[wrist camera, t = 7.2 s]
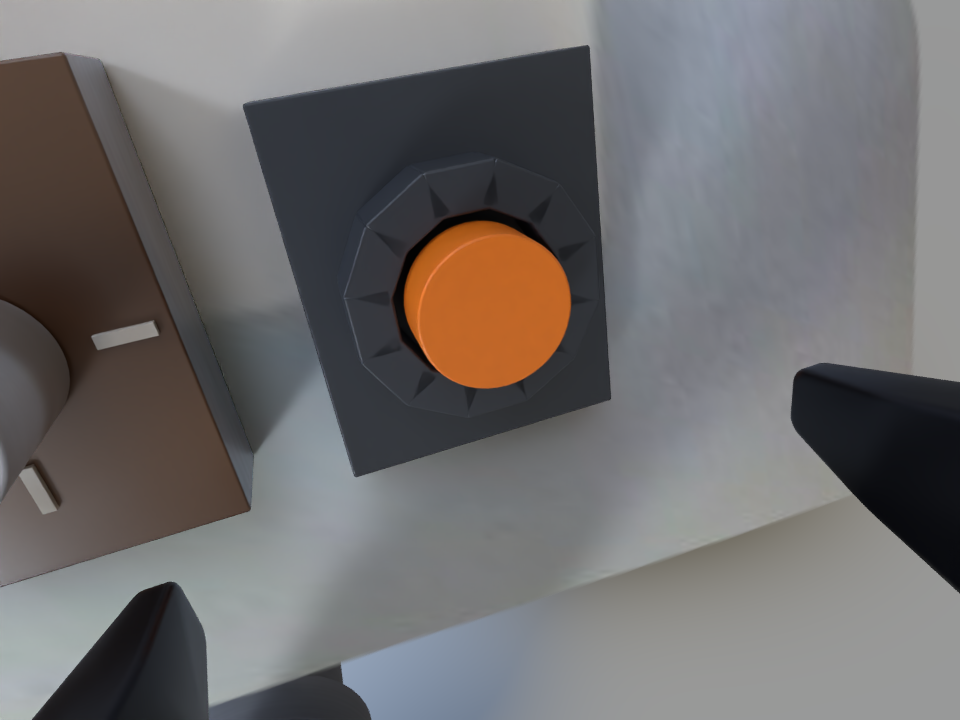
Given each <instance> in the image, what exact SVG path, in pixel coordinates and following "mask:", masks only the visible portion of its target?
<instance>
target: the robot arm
mask: <svg viewBox="0 0 960 720" xmlns="http://www.w3.org/2000/svg"><path fill="white" fill-rule="evenodd" d="M791 421H792V424H793V426H794V428H795V430H796V431H797V433H798V434H799V435H800V436H801V437H802V438H803V439H804V441H805V442H806V443H807V444H808V445H809V446H810V447H811V448H812V449H813V450H814V451H815V453H816V454H817V455H818V456H819V457H820V458H821V459H822V460H823V461H824V462H825V464H826V465H827V466H828V467H829V468H830V469H831V470H832V471H833V472H834V473H835V474H836V476H837V477H838V478H839V479H840V480H841V481H842V482H843V483H844V484H845V485H846V487H847V488H848V489H849V490H850V491H851V492H852V493H853V494H854V495H855V496H856V497H857V498H858V499H859V500H860V502H861V503H863V505H865V507H867V509H868V510H869V511H871V512H872V513H873V514H874V515H875V516H876V517H877V518H878V519H879V520H880V521H881V522H882V523H883V524H884V525H886V527H888V528H889V529H890V530H891V531H892V532H893V533H894V534H895V535H896V536H898V537H899V538H900V539H901V540H902V541H903V542H904V543H905V544H906V545H907V546H908V547H909V548H911V549H912V550H913V551H914V552H915V553H916V554H917V555H918V556H920V558H922V559H923V560H924V561H925V562H926V563H927V564H928V565H929V566H930V567H931V568H932V569H934V570H935V571H936V572H937V573H938V574H939V575H940V576H941V577H942V578H943V579H945V580H946V581H947V582H948V583H949V584H950V585H951V586H952V587H953V588H954V589H955V590H957V591H958V592H959V593H960V382H954V381H948V380H941V379H934V378H927V377H920V376H913V375H907V374H900V373H893V372H886V371H879V370H872V369H865V368H858V367H851V366H844V365H837V364H830V363H819V364H816V365H813V366H810V367H807V368H804V369H801V370H800V371H798V372H797V373H796V375H795V377H794V381H793V393H792V406H791ZM32 720H209V710H208V681H207V652H206V639H205V634H204V630H203V627H202V625H201V623H200V621H199V619H198V617H197V616H196V614H195V612H194V610H193V608H192V607H191V605H190V603H189V601H188V599H187V597H186V596H185V594H184V592H183V590H182V589H181V587H180V586H179V585H178V584H177V583H175V582H167V583H164V584H161V585H158V586H155V587H152V588H149V589H146V590H143V591H141V592H139V593H138V594H137V595H136V596H135V597H134V598H133V599H132V600H131V601H130V602H129V604H128V605H127V606H126V607H125V608H124V610H123V611H122V612H121V613H120V614H119V616H118V617H117V618H116V619H115V620H114V622H113V623H112V624H111V625H110V626H109V628H108V629H107V630H106V631H105V632H104V634H103V635H102V636H101V637H100V638H99V640H98V641H97V642H96V643H95V644H94V646H93V647H92V648H91V649H90V650H89V652H88V653H87V654H86V655H85V656H84V658H83V659H82V660H81V661H80V662H79V664H78V665H77V666H76V667H75V668H74V670H73V671H72V672H71V673H70V674H69V676H68V677H67V678H66V679H65V681H64V682H63V683H62V684H61V685H60V687H59V688H58V689H57V690H56V691H55V693H54V694H53V695H52V696H51V697H50V699H49V700H48V701H47V702H46V703H45V705H44V706H43V707H42V708H41V709H40V711H39V712H38V713H37V714H36V715H35V716H34V718H33V719H32Z"/></svg>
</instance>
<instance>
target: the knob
mask: <svg viewBox="0 0 960 720" xmlns="http://www.w3.org/2000/svg"><path fill="white" fill-rule="evenodd" d="M69 387H70V375H69V369H68V365H67V361H66V358H65V356H64V354H63V351H62V350H61V348H60V346H59V345H58V343H57V341H56V340H55V339H54V337H53V336H52V335H51V334H50V332H49V331H48V330H47V329H46V328H45V327H44V326H43V325H42V324H41V323H40V322H38V321H37V320H36V319H34V318H33V317H32V316H31V315H29V314H28V313H26V312H24V311H23V310H21V309H20V308H18V307H16V306H14V305H12V304H10V303H8V302H6V301H3V300H0V503H1V502H2V500H3V499H4V497H5V496H6V494H7V492H8V491H9V489H10V488H11V486H12V485H13V483H14V482H15V480H16V479H17V477H18V476H19V474H20V473H21V471H22V470H23V468H24V467H25V465H26V464H27V462H28V461H29V459H30V458H31V456H32V455H33V453H34V452H35V450H36V449H37V447H38V446H39V444H40V443H41V441H42V440H43V438H44V436H45V435H46V433H47V432H48V430H49V429H50V427H51V426H52V424H53V423H54V421H55V420H56V418H57V417H58V415H59V414H60V412H61V411H62V409H63V407H64V405H65V403H66V401H67V397H68V393H69Z"/></svg>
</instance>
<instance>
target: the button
mask: <svg viewBox="0 0 960 720" xmlns="http://www.w3.org/2000/svg"><path fill="white" fill-rule="evenodd" d="M404 309H405V315H406V318H407V322H408V324H409V326H410V329H411V331H412V333H413V334H414V336H415V338H416V340H417V341H418V343H419V345H420V347H421V348H422V350H423V352H424V354H425V355H426V357H427V358H428V360H429V361H430V363H431V364H432V365H433V366H434V367H435V368H436V370H438V371H439V372H440V373H441V374H442V375H444V376H445V377H447V378H448V379H450V380H452V381H454V382H456V383H458V384H461V385H464V386H468V387H474V388H487V389H489V388H498V387H503V386H507V385H510V384H513V383H516V382H518V381H520V380H522V379H524V378H526V377H528V376H529V375H531V374H532V373H534V372H535V371H536V370H538V369H539V368H540V367H542V366H543V365H544V364H545V363H546V362H547V361H548V360H549V358H550V357H551V356H552V355H553V353H554V352H555V351H556V349H557V348H558V346H559V344H560V343H561V341H562V339H563V337H564V335H565V332H566V329H567V326H568V322H569V318H570V312H571V294H570V287H569V283H568V280H567V276H566V274H565V272H564V270H563V268H562V266H561V265H560V263H559V261H558V260H557V259H556V258H555V256H554V255H553V254H552V253H551V252H550V251H549V250H548V249H546V248H545V247H544V246H542V245H541V244H539V243H538V242H536V241H534V240H533V239H531V238H529V237H527V236H526V235H524V234H522V233H520V232H519V231H517V230H515V229H514V228H512V227H509V226H507V225H505V224H501V223H498V222H493V221H471V222H465V223H462V224H458V225H455V226H453V227H451V228H449V229H446V230H445V231H443V232H441V233H440V234H438V235H437V236H436V237H434V238H433V239H432V240H431V241H429V243H428V244H427V245H426V246H425V247H424V248H423V249H422V250H421V251H420V253H419V254H418V256H417V257H416V259H415V260H414V262H413V264H412V266H411V268H410V270H409V273H408V275H407V279H406V283H405V289H404Z"/></svg>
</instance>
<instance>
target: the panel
mask: <svg viewBox="0 0 960 720" xmlns="http://www.w3.org/2000/svg"><path fill="white" fill-rule="evenodd" d="M0 300H3V301H6V302H8V303H10V304H12V305H14V306H16V307H18V308H20V309H21V310H23V311H24V312H26V313H28V314H29V315H31V316H32V317H33V318H34V319H36V320H37V321H38V322H40V323H41V324H42V325H43V326H44V327H45V328H46V329H47V330H48V331H49V332H50V334H51V335H52V336H53V337H54V339H55V340H56V341H57V343H58V345H59V346H60V348H61V350H62V351H63V354H64V356H65V358H66V361H67V365H68V369H69V375H70V387H69V393H68V397H67V401H66V403H65V405H64V407H63V409H62V411H61V412H60V414H59V415H58V417H57V418H56V420H55V421H54V423H53V424H52V426H51V427H50V429H49V430H48V432H47V433H46V435H45V436H44V438H43V440H42V441H41V443H40V444H39V446H38V447H37V449H36V450H35V452H34V453H33V455H32V456H31V458H30V459H29V461H28V462H27V464H26V465H25V467H24V468H23V470H22V471H21V473H20V474H19V476H18V477H17V479H16V480H15V482H14V483H13V485H12V486H11V488H10V489H9V491H8V492H7V494H6V496H5V497H4V499H3V500H2V502H1V503H0V587H3V586H6V585H9V584H12V583H16V582H19V581H22V580H26V579H29V578H32V577H35V576H39V575H42V574H45V573H48V572H52V571H55V570H58V569H62V568H65V567H68V566H71V565H75V564H78V563H81V562H84V561H88V560H91V559H94V558H97V557H101V556H104V555H107V554H111V553H114V552H117V551H120V550H124V549H127V548H130V547H133V546H137V545H140V544H143V543H147V542H150V541H153V540H156V539H160V538H163V537H166V536H169V535H173V534H176V533H179V532H182V531H186V530H189V529H192V528H196V527H199V526H202V525H205V524H209V523H212V522H215V521H218V520H222V519H225V518H228V517H232V516H235V515H238V514H241V513H245V512H248V511H250V510H251V498H252V480H253V461H254V455H253V453H252V450H251V448H250V445H249V442H248V440H247V437H246V435H245V432H244V429H243V427H242V424H241V422H240V419H239V417H238V414H237V411H236V409H235V406H234V404H233V401H232V398H231V396H230V393H229V391H228V388H227V385H226V383H225V380H224V378H223V375H222V373H221V370H220V367H219V365H218V362H217V360H216V357H215V354H214V352H213V349H212V347H211V344H210V341H209V339H208V336H207V334H206V331H205V329H204V326H203V323H202V321H201V318H200V316H199V313H198V310H197V308H196V305H195V303H194V300H193V297H192V295H191V292H190V290H189V287H188V285H187V282H186V279H185V277H184V274H183V272H182V269H181V266H180V264H179V261H178V259H177V256H176V253H175V251H174V248H173V246H172V243H171V241H170V238H169V235H168V233H167V230H166V228H165V225H164V222H163V220H162V217H161V215H160V212H159V209H158V207H157V204H156V202H155V199H154V197H153V194H152V191H151V189H150V186H149V184H148V181H147V178H146V176H145V173H144V171H143V168H142V165H141V163H140V160H139V158H138V155H137V153H136V150H135V147H134V145H133V142H132V140H131V137H130V134H129V132H128V129H127V127H126V124H125V121H124V119H123V116H122V114H121V111H120V109H119V106H118V103H117V101H116V98H115V96H114V93H113V90H112V88H111V85H110V83H109V80H108V77H107V75H106V72H105V70H104V67H103V65H102V62H101V60H100V59H97V58H91V57H86V56H80V55H74V54H69V53H63V52H58V53H51V54H44V55H37V56H30V57H23V58H16V59H9V60H3V61H0Z"/></svg>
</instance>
